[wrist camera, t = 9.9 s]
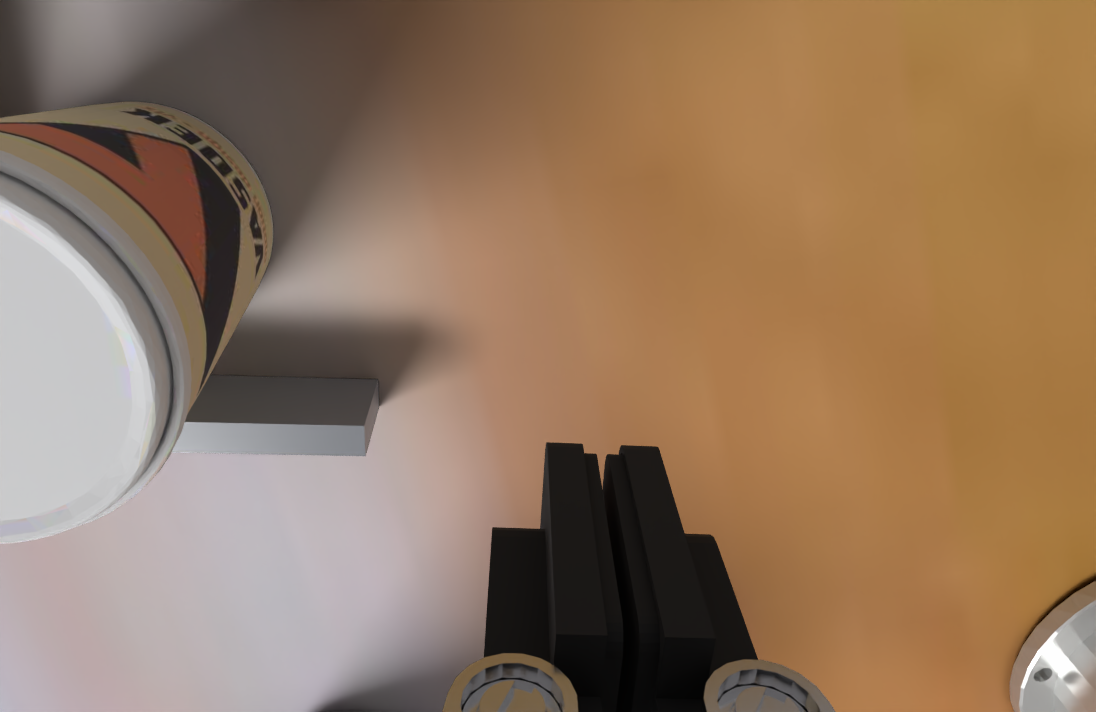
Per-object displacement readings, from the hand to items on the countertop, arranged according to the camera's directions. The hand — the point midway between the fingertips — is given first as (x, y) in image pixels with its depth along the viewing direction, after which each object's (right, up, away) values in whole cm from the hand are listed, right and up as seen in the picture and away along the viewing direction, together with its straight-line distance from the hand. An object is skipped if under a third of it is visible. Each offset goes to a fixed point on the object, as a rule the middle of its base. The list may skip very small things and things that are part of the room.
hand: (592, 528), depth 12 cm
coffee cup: (-14, +7, +15) cm, 22 cm away
